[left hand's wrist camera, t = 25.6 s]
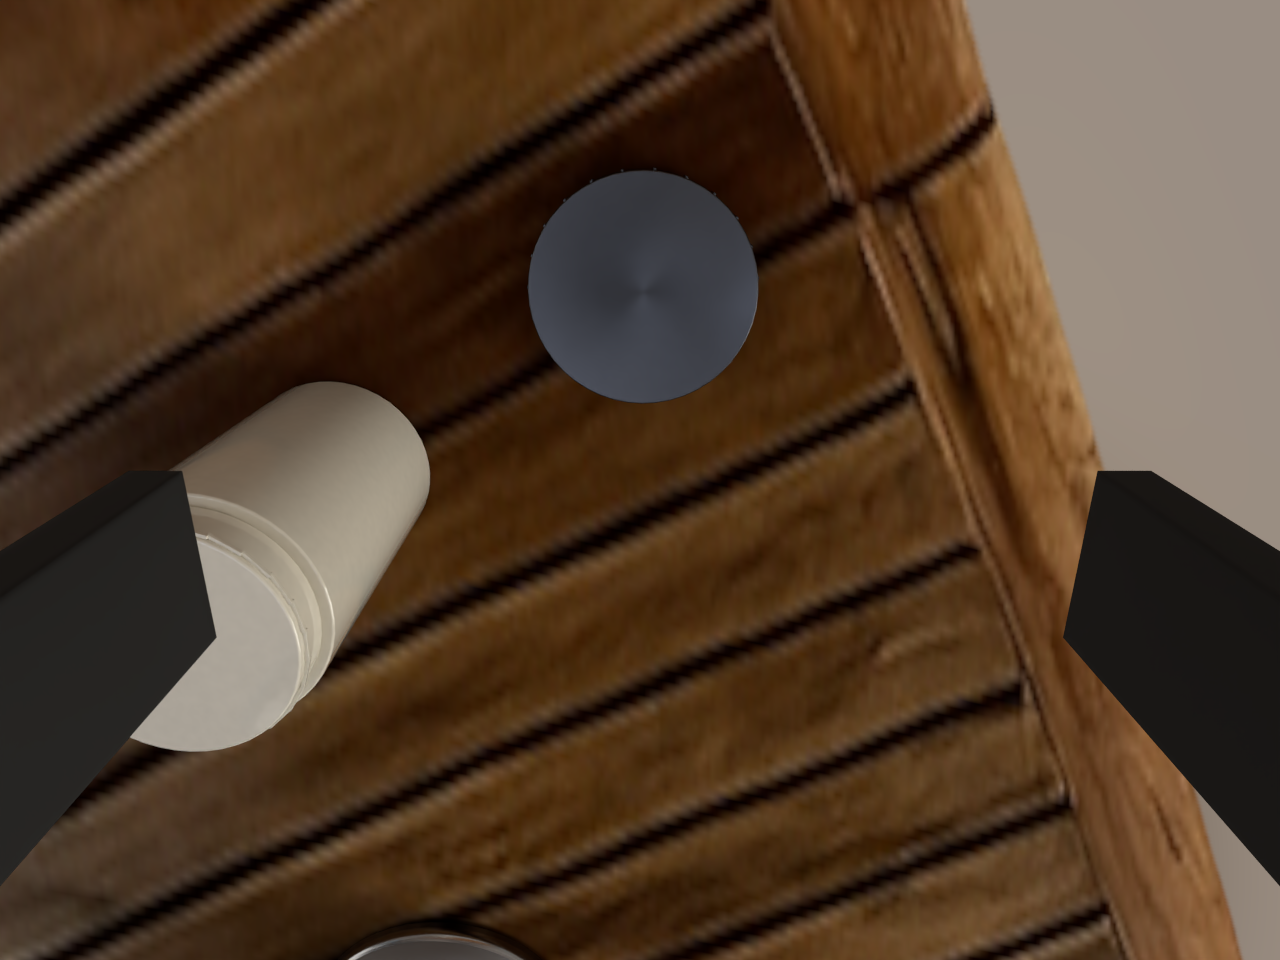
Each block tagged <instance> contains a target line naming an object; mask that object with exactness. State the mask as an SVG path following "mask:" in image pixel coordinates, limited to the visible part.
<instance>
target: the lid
mask: <svg viewBox="0 0 1280 960" xmlns="http://www.w3.org/2000/svg"><path fill="white" fill-rule="evenodd" d="M715 195H716V193H715V192H713V191H711V192H710V191H708V190H707V189H706V188H704V187H702V186H701V185H699V184H697V183H695V182H693V181H691V180H689V179H688V176H686V175H684V176H683V177H682V176H679V175H677V174H674V173H670V172H665V171H661V170H656V168H655V167H653V170H651V169H635V170H626V171H624V169H621V172H616V173H613V174H610V175H607V176H604V177H601V178H599V179H597V180H594V179H592V180H590V183H589V184H587V185H586V186H584V187H583V188H581V189H580V190H578V191H577V192H576V193H574V194H573V195H571V196H570V197H567V198H565V199H564V200H563V201H564V203H563V204H562V205H561V206H560V207H559V208H558V209H557V210H556V211H555V213H554V214H553V215H552V216H551V218H550V219H549V221H548V222H546V223H545V224H544V225H543V227H544V229H543V230H542V232H541V234H540V237H539V239H538V241H537V243H536V245H535V249H534V252H533V253H532V254H531V257H532V259H531V263H530V270H529V277H528V286H527V288H528V295H529V305H530V310H531V314H532V319H533V322H534V325H535V328H536V330H537V333H538V335H539V337H540V339H541V341H542V343H543V345H544V347H545V349H546V350H547V351H548V353H549V354H550V356H551V357H552V359H553V360H554V361H555V362H556V363H557V364H558V366H559V367H560V368H561V369H562V370H563V371H564V372H565V373H566V374H568V375H569V376H570V377H571V378H572V379H573V380H575V381H576V382H578V383H579V384H581V385H582V386H584V387H585V388H587V389H589V390H591V391H593V392H595V393H597V394H599V395H602V396H605V397H608V398H611V399H614V400H618V401H623V402H630V403H657V402H662V401H668V400H672V399H675V398H679V397H682V396H685V395H687V394H689V393H691V392H693V391H695V390H698V389H699V388H701V387H702V386H704V385H706V384H707V383H709V382H710V381H711V380H713V379H714V378H715V377H716V376H718V375H719V374H720V373H721V372H722V371H723V370H724V369H725V368H726V367H727V366H728V365H729V364H730V363H731V361H732V360H733V359H734V357H735V356H736V355H737V353H738V352H739V351H740V349H741V347H742V345H743V343H744V342H745V340H746V338H747V336H748V333H749V331H750V328H751V326H752V323H753V320H754V316H755V312H756V307H757V299H758V279H759V277H758V274H757V266H756V261H755V257H754V254H753V250H752V248H753V246H752V245H751V244H750V242H749V240H748V237H747V235H746V233H745V231H744V230H743V228H742V226H741V224H740V223H739V221H738V220H737V219H738V217H737V216H736V215H735V214H733V213H732V212H731V211H730V209H729V208H728V207H727V206H726V205H725V204H724V203H723V202H722V201H721V200H720V199H719V198H718V197H716V196H715Z"/></svg>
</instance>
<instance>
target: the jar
mask: <svg viewBox="0 0 1280 960" xmlns="http://www.w3.org/2000/svg"><path fill="white" fill-rule="evenodd" d="M168 471H182V472H183V477H184V481H185V486H186V491H187V496H188V501H189V506H190V510H191V515H192V520H193V525H194V530H195V535H196V539H197V544H198V549H199V554H200V559H201V564H202V568H203V573H204V578H205V583H206V588H207V593H208V597H209V602H210V607H211V612H212V617H213V622H214V626H215V631H216V636H217V638H216V639H215V640H214V641H213V642H212V644H211V645H210V646H209V647H208V648H207V649H206V650H205V652H204V653H203V654H202V655H201V656H200V657H199V658H198V660H197V661H196V662H195V663H194V664H193V665H192V666H191V668H190V669H189V670H188V671H187V672H186V673H185V675H184V676H183V677H182V678H181V679H180V680H179V681H178V683H177V684H176V685H175V686H174V687H173V688H172V689H171V691H170V692H169V693H168V694H167V695H166V696H165V697H164V699H163V700H162V701H161V702H160V703H159V704H158V705H157V707H156V708H155V709H154V710H153V711H152V712H151V714H150V715H149V716H148V717H147V718H146V719H145V720H144V722H143V723H142V724H141V725H140V726H139V727H138V728H137V730H136V731H135V732H134V733H133V734H132V735H131V736H130V738H133V739H135V740H138V741H140V742H143V743H146V744H149V745H153V746H156V747H160V748H166V749H171V750H179V751H211V750H219V749H224V748H228V747H232V746H236V745H238V744H241V743H244V742H246V741H249V740H251V739H253V738H254V737H256V736H258V735H260V734H261V733H263V732H265V731H266V730H267V729H271V728H272V727H273V726H274V725H275V724H276V723H277V722H279V721H280V720H281V719H282V718H283V717H284V716H285V715H286V714H287V713H288V712H289V711H291V710H292V709H293V707H294V705H295V703H297V702H298V701H299V700H301V699H302V698H303V697H304V696H306V695H307V694H308V693H309V692H310V691H311V690H312V688H313V687H314V686H315V685H316V684H317V683H318V681H319V680H320V678H321V677H322V675H323V674H324V672H325V671H326V669H327V667H328V666H329V664H330V662H331V661H332V659H333V657H334V656H335V654H336V652H337V651H338V649H339V648H340V646H341V644H342V643H343V641H344V639H345V638H346V636H347V634H348V633H349V631H350V629H351V628H352V626H353V624H354V623H355V621H356V619H357V618H358V616H359V615H360V613H361V611H362V610H363V608H364V606H365V605H366V603H367V601H368V600H369V598H370V596H371V595H372V593H373V591H374V590H375V588H376V586H377V585H378V583H379V582H380V580H381V578H382V577H383V575H384V573H385V572H386V570H387V568H388V567H389V565H390V563H391V562H392V560H393V558H394V557H395V555H396V553H397V552H398V550H399V549H400V547H401V545H402V544H403V542H404V540H405V539H406V537H407V535H408V534H409V532H410V530H411V529H412V527H413V525H414V524H415V522H416V520H417V519H418V517H419V516H420V514H421V512H422V510H423V508H424V506H425V503H426V500H427V497H428V492H429V486H430V469H429V462H428V458H427V454H426V451H425V448H424V446H423V443H422V441H421V439H420V437H419V435H418V434H417V432H416V430H415V429H414V427H413V426H412V424H411V423H410V422H409V420H408V419H407V418H406V417H405V416H404V415H403V414H402V413H401V412H400V411H399V410H398V409H397V408H396V407H394V406H393V405H392V404H391V403H390V402H388V401H386V400H385V399H383V398H382V397H380V396H379V395H377V394H375V393H373V392H371V391H369V390H366V389H364V388H361V387H358V386H355V385H350V384H346V383H340V382H315V383H308V384H304V385H301V386H298V387H295V388H292V389H290V390H288V391H286V392H284V393H283V394H281V395H280V396H278V397H276V398H275V399H273V400H272V401H271V402H269V403H268V404H266V405H265V406H263V407H262V408H260V409H259V410H257V411H256V412H254V413H253V414H251V415H250V416H248V417H247V418H245V419H244V420H242V421H241V422H239V423H238V424H236V425H235V426H234V427H232V428H231V429H229V430H228V431H226V432H225V433H223V434H222V435H220V436H219V437H217V438H216V439H214V440H213V441H211V442H210V443H208V444H207V445H205V446H204V447H202V448H201V449H199V450H198V451H197V452H195V453H194V454H192V455H191V456H189V457H188V458H186V459H185V460H183V461H182V462H180V463H179V464H177V465H176V466H174V467H173V468H171V469H170V470H168Z"/></svg>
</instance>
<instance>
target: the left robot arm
mask: <svg viewBox="0 0 1280 960" xmlns="http://www.w3.org/2000/svg"><path fill="white" fill-rule="evenodd" d="M216 638H217V636H216V631H215V626H214V622H213V617H212V612H211V607H210V602H209V597H208V593H207V588H206V583H205V578H204V573H203V568H202V564H201V559H200V554H199V549H198V544H197V539H196V535H195V530H194V525H193V520H192V515H191V510H190V506H189V501H188V496H187V491H186V486H185V481H184V477H183V472H182V471H128V472H126V473H125V474H123V475H122V476H120V477H118V478H117V479H115V480H114V481H112V482H110V483H109V484H107V485H106V486H104V487H102V488H101V489H99V490H98V491H96V492H94V493H93V494H91V495H90V496H88V497H86V498H85V499H83V500H82V501H80V502H78V503H77V504H75V505H73V506H72V507H70V508H69V509H67V510H65V511H64V512H62V513H61V514H59V515H57V516H56V517H54V518H53V519H51V520H49V521H48V522H46V523H45V524H43V525H41V526H40V527H38V528H37V529H35V530H33V531H32V532H30V533H29V534H27V535H25V536H24V537H22V538H21V539H19V540H17V541H16V542H14V543H13V544H11V545H9V546H8V547H6V548H5V549H3V550H1V551H0V886H1V884H2V883H3V882H4V881H5V880H6V879H7V878H8V876H9V875H10V874H11V873H12V872H13V871H14V870H15V868H16V867H17V866H18V865H19V864H20V863H21V862H22V860H23V859H24V858H25V857H26V856H27V855H28V854H29V852H30V851H31V850H32V849H33V848H34V847H35V845H36V844H37V843H38V842H39V841H40V840H41V839H42V837H43V836H44V835H45V834H46V833H47V832H48V831H49V829H50V828H51V827H52V826H53V825H54V824H55V823H56V821H57V820H58V819H59V818H60V817H61V816H62V814H63V813H64V812H65V811H66V810H67V809H68V808H69V806H70V805H71V804H72V803H73V802H74V801H75V800H76V798H77V797H78V796H79V795H80V794H81V793H82V792H83V790H84V789H85V788H86V787H87V786H88V785H89V784H90V782H91V781H92V780H93V779H94V778H95V777H96V775H97V774H98V773H99V772H100V771H101V770H102V769H103V767H104V766H105V765H106V764H107V763H108V762H109V761H110V759H111V758H112V757H113V756H114V755H115V754H116V753H117V751H118V750H119V749H120V748H121V747H122V746H123V745H124V743H125V742H126V741H127V740H128V739H129V738H130V736H131V735H132V734H133V733H134V732H135V731H136V730H137V728H138V727H139V726H140V725H141V724H142V723H143V722H144V720H145V719H146V718H147V717H148V716H149V715H150V714H151V712H152V711H153V710H154V709H155V708H156V707H157V705H158V704H159V703H160V702H161V701H162V700H163V699H164V697H165V696H166V695H167V694H168V693H169V692H170V691H171V689H172V688H173V687H174V686H175V685H176V684H177V683H178V681H179V680H180V679H181V678H182V677H183V676H184V675H185V673H186V672H187V671H188V670H189V669H190V668H191V666H192V665H193V664H194V663H195V662H196V661H197V660H198V658H199V657H200V656H201V655H202V654H203V653H204V652H205V650H206V649H207V648H208V647H209V646H210V645H211V644H212V642H213V641H214V640H215V639H216ZM1063 638H1064V639H1065V640H1066V641H1067V642H1068V644H1069V645H1070V646H1071V647H1072V648H1073V649H1074V650H1075V652H1076V653H1077V654H1078V655H1079V656H1080V657H1081V658H1082V660H1083V661H1084V662H1085V663H1086V664H1087V665H1088V666H1089V668H1090V669H1091V670H1092V671H1093V672H1094V673H1095V675H1096V676H1097V677H1098V678H1099V679H1100V680H1101V681H1102V683H1103V684H1104V685H1105V686H1106V687H1107V688H1108V689H1109V691H1110V692H1111V693H1112V694H1113V695H1114V696H1115V697H1116V699H1117V700H1118V701H1119V702H1120V703H1121V704H1122V705H1123V707H1124V708H1125V709H1126V710H1127V711H1128V712H1129V714H1130V715H1131V716H1132V717H1133V718H1134V719H1135V720H1136V722H1137V723H1138V724H1139V725H1140V726H1141V727H1142V728H1143V730H1144V731H1145V732H1146V733H1147V734H1148V735H1149V736H1150V738H1151V739H1152V740H1153V741H1154V742H1155V743H1156V745H1157V746H1158V747H1159V748H1160V749H1161V750H1162V751H1163V753H1164V754H1165V755H1166V756H1167V757H1168V758H1169V759H1170V761H1171V762H1172V763H1173V764H1174V765H1175V766H1176V767H1177V769H1178V770H1179V771H1180V772H1181V773H1182V774H1183V775H1184V777H1185V778H1186V779H1187V780H1188V781H1189V782H1190V784H1191V785H1192V786H1193V787H1194V788H1195V789H1196V790H1197V792H1198V793H1199V794H1200V795H1201V796H1202V797H1203V798H1204V800H1205V801H1206V802H1207V803H1208V804H1209V805H1210V806H1211V808H1212V809H1213V810H1214V811H1215V812H1216V813H1217V814H1218V816H1219V817H1220V818H1221V819H1222V820H1223V821H1224V823H1225V824H1226V825H1227V826H1228V827H1229V828H1230V829H1231V831H1232V832H1233V833H1234V834H1235V835H1236V836H1237V837H1238V839H1239V840H1240V841H1241V842H1242V843H1243V844H1244V845H1245V847H1246V848H1247V849H1248V850H1249V851H1250V852H1251V854H1252V855H1253V856H1254V857H1255V858H1256V859H1257V860H1258V862H1259V863H1260V864H1261V865H1262V866H1263V867H1264V868H1265V870H1266V871H1267V872H1268V873H1269V874H1270V875H1271V876H1272V878H1273V879H1274V880H1275V881H1276V882H1277V883H1278V884H1279V886H1280V551H1279V550H1277V549H1275V548H1274V547H1272V546H1271V545H1269V544H1267V543H1266V542H1264V541H1263V540H1261V539H1259V538H1258V537H1256V536H1255V535H1253V534H1251V533H1250V532H1248V531H1247V530H1245V529H1243V528H1242V527H1240V526H1239V525H1237V524H1235V523H1234V522H1232V521H1230V520H1229V519H1227V518H1226V517H1224V516H1223V515H1221V514H1219V513H1218V512H1216V511H1214V510H1213V509H1211V508H1210V507H1208V506H1207V505H1205V504H1203V503H1202V502H1200V501H1198V500H1197V499H1195V498H1194V497H1192V496H1190V495H1189V494H1187V493H1186V492H1184V491H1182V490H1181V489H1179V488H1178V487H1176V486H1174V485H1173V484H1171V483H1170V482H1168V481H1166V480H1165V479H1163V478H1162V477H1160V476H1158V475H1157V474H1155V473H1154V472H1152V471H1098V472H1097V477H1096V481H1095V486H1094V491H1093V496H1092V501H1091V506H1090V510H1089V515H1088V520H1087V525H1086V530H1085V535H1084V539H1083V544H1082V549H1081V554H1080V559H1079V564H1078V568H1077V573H1076V578H1075V583H1074V588H1073V593H1072V597H1071V602H1070V607H1069V612H1068V617H1067V622H1066V626H1065V631H1064V636H1063ZM338 960H542V959H541V958H540V957H538V956H537V955H536V954H535V953H533V952H532V951H531V950H529V949H528V948H526V947H525V946H523V945H521V944H519V943H518V942H516V941H514V940H512V939H510V938H508V937H506V936H503V935H501V934H498V933H496V932H493V931H490V930H486V929H483V928H479V927H475V926H470V925H464V924H458V923H447V922H425V923H414V924H407V925H402V926H397V927H393V928H390V929H386V930H383V931H380V932H378V933H376V934H373V935H371V936H369V937H367V938H365V939H363V940H361V941H360V942H358V943H356V944H355V945H353V946H352V947H351V948H349V949H348V950H347V951H346V952H345V953H343V954H342V955H341V957H340V958H339V959H338Z"/></svg>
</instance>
